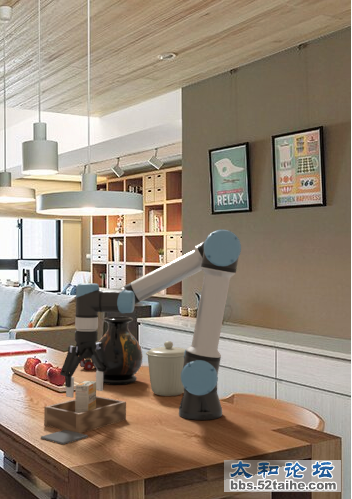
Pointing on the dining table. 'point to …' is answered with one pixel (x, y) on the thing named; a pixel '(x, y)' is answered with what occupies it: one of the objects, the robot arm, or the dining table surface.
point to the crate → (84, 415)
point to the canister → (166, 369)
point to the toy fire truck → (87, 364)
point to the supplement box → (85, 396)
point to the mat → (64, 436)
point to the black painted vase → (120, 352)
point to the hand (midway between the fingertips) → (84, 393)
